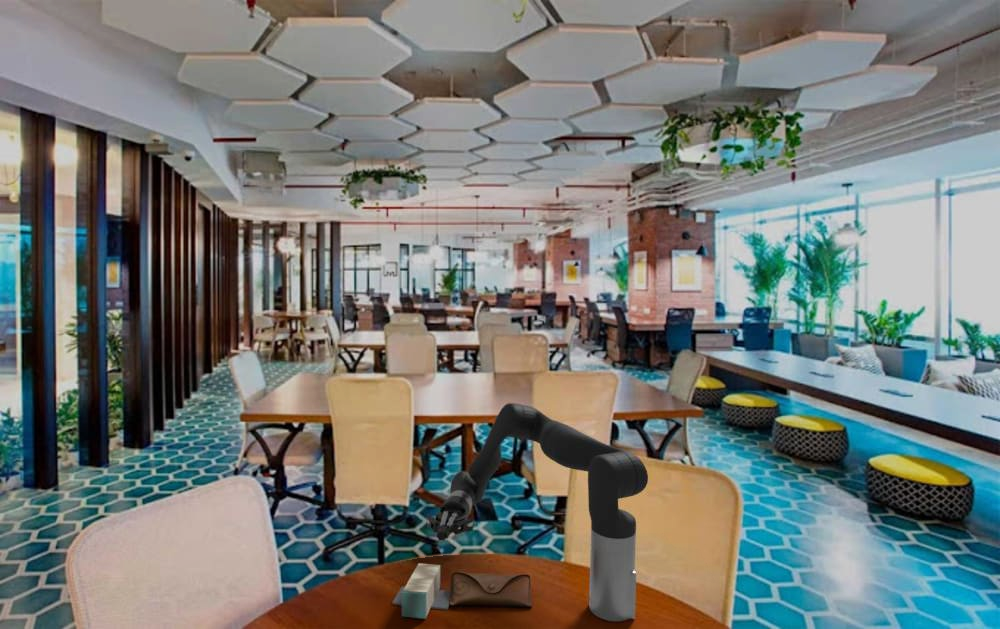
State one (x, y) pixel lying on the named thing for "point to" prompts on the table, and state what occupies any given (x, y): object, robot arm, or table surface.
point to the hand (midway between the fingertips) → (441, 536)
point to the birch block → (421, 591)
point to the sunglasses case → (490, 590)
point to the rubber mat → (439, 602)
